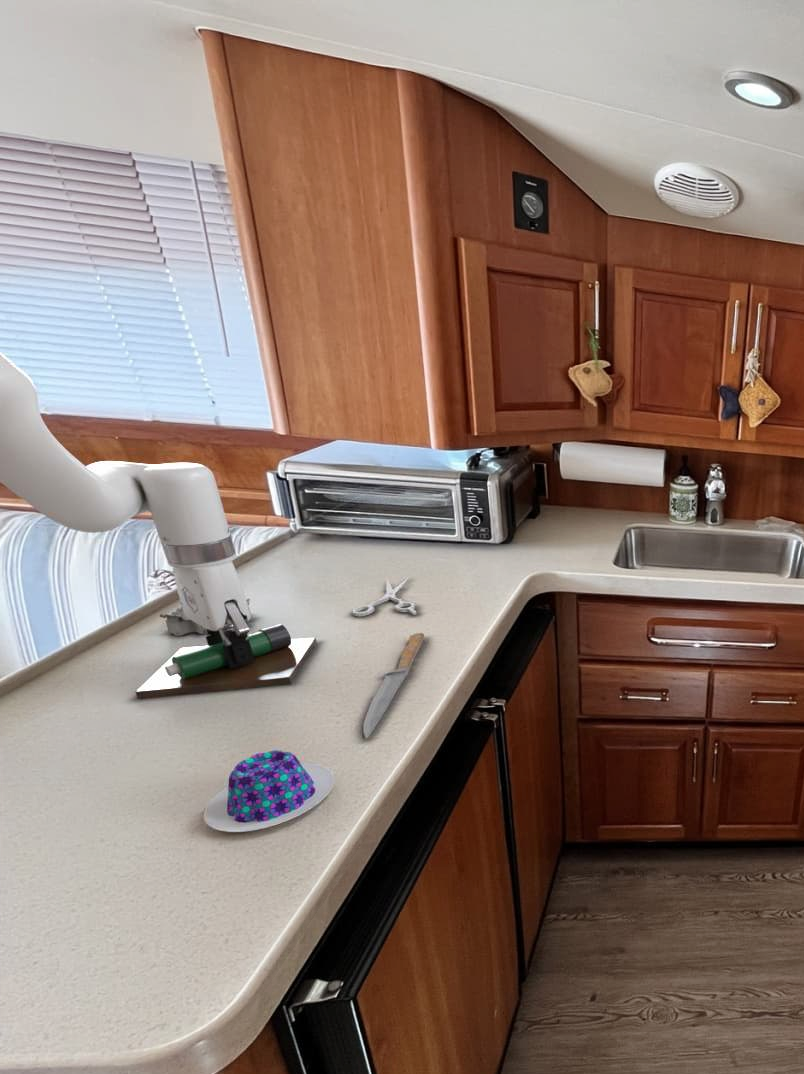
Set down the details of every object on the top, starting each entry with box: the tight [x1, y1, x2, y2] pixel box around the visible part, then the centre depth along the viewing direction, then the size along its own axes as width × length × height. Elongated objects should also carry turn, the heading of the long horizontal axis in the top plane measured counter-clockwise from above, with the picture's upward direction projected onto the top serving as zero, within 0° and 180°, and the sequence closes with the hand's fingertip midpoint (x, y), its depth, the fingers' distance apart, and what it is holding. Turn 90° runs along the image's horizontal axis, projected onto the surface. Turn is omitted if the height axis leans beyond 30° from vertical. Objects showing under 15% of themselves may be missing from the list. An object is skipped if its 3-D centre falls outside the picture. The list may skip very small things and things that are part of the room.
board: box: [135, 637, 318, 700], centre depth 99 cm, size 18×14×1 cm
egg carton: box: [159, 598, 253, 637], centre depth 111 cm, size 11×8×4 cm
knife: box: [362, 632, 425, 740], centre depth 99 cm, size 31×1×3 cm
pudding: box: [203, 749, 335, 833], centre depth 74 cm, size 12×12×5 cm
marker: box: [165, 623, 292, 679], centre depth 98 cm, size 15×4×4 cm, turn 152°
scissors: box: [352, 577, 417, 617], centre depth 128 cm, size 11×1×20 cm
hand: (233, 659), depth 99 cm, fingers open, 4 cm apart
